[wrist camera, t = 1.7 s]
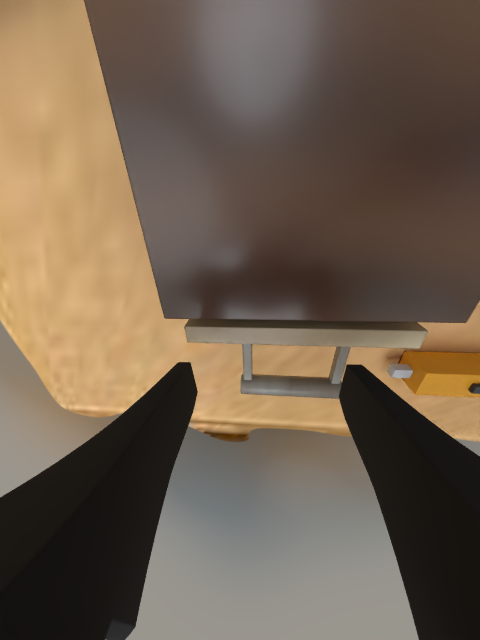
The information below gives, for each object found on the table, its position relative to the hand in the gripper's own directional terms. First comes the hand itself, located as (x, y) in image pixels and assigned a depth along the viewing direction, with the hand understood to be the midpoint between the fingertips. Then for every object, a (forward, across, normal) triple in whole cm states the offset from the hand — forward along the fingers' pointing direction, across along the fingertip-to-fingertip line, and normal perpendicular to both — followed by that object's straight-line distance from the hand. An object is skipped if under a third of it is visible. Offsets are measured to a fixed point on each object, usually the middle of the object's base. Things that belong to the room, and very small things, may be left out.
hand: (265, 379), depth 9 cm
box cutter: (+10, -16, +7) cm, 20 cm away
